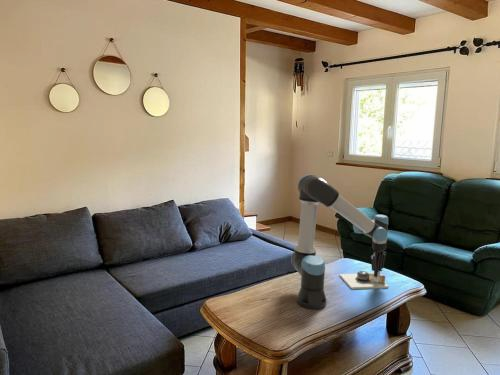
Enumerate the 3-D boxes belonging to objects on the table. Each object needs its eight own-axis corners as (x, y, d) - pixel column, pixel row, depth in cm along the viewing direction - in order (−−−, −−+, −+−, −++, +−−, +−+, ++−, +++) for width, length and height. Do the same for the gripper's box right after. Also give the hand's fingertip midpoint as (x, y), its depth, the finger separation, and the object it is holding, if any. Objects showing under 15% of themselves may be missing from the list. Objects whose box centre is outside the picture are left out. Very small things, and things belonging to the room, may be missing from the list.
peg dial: (356, 280, 213) (356, 272, 212) (357, 275, 219) (358, 268, 219) (384, 285, 207) (384, 277, 206) (385, 280, 213) (385, 273, 212)
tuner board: (351, 289, 204) (351, 286, 204) (339, 275, 223) (339, 273, 223) (389, 287, 207) (389, 285, 207) (374, 274, 226) (374, 272, 225)
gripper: (378, 246, 198) (375, 286, 202) (392, 241, 206) (388, 280, 210) (366, 242, 204) (364, 282, 208) (380, 238, 212) (377, 276, 216)
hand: (376, 281), depth 209 cm, fingers closed
